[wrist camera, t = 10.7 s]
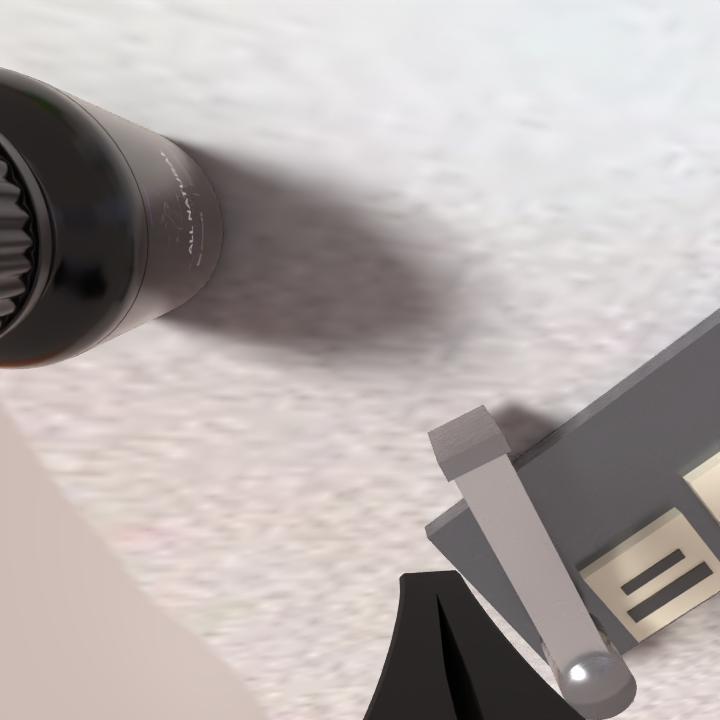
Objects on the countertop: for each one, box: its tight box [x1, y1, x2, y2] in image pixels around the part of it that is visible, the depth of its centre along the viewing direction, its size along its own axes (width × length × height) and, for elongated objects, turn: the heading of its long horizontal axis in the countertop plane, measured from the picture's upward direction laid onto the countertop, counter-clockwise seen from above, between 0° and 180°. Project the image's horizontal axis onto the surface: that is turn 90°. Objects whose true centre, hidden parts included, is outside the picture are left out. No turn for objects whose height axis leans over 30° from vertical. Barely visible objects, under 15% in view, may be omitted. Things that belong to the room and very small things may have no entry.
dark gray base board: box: [425, 309, 720, 666], centre depth 23 cm, size 18×11×1 cm, turn 131°
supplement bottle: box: [0, 67, 223, 369], centre depth 14 cm, size 7×7×12 cm
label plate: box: [579, 507, 720, 642], centre depth 23 cm, size 5×4×1 cm
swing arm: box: [428, 405, 637, 720], centre depth 21 cm, size 13×3×3 cm, turn 29°
